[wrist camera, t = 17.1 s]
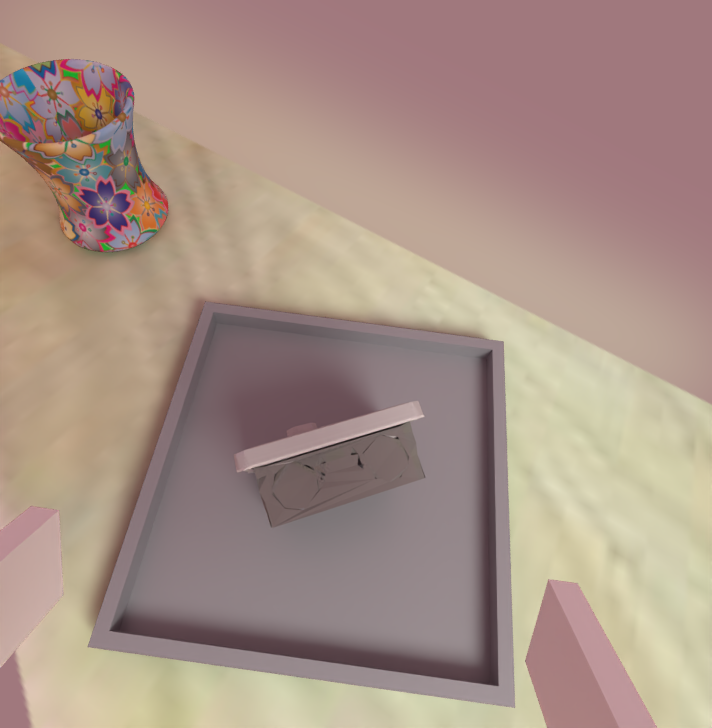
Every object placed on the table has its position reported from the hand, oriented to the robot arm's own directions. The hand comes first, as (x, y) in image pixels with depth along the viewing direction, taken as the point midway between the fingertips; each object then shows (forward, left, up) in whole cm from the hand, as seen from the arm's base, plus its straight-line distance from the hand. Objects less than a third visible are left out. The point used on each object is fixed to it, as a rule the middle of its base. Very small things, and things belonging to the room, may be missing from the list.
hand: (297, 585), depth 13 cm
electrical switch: (0, -7, -16) cm, 18 cm away
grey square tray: (0, -8, -16) cm, 18 cm away
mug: (+22, -28, -17) cm, 39 cm away
